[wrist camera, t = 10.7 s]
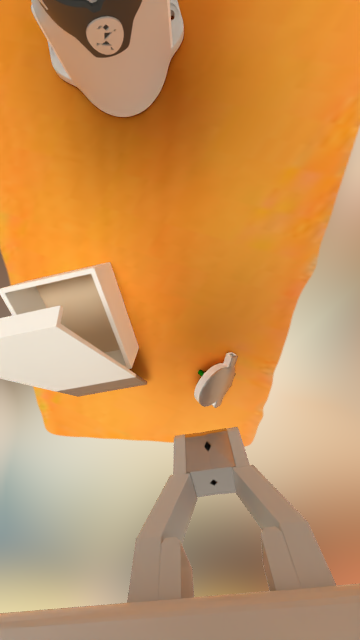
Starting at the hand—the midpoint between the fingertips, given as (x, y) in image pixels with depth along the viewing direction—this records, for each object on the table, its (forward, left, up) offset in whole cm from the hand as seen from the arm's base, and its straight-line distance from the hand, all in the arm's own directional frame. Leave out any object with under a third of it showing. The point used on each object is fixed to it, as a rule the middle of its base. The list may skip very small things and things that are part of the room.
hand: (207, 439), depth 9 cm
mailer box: (+2, -22, -34) cm, 40 cm away
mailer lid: (+7, -22, -23) cm, 33 cm away
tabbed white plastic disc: (+23, +2, -34) cm, 41 cm away
